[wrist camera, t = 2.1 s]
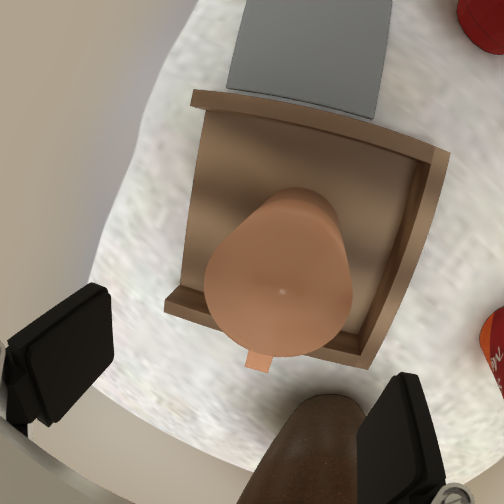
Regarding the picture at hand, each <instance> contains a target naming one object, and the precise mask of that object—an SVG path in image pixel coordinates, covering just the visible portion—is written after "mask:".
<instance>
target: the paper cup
mask: <svg viewBox="0 0 504 504" xmlns="http://www.w3.org/2000/svg"><path fill="white" fill-rule="evenodd" d="M479 340H480V346H481V348H482V351H483V353H484V355H485V357H486V360H487V362H488V364H489V366H490V368H491V370H492V373H493V375H494V377H495V380H496V382H497V384H498V387H499V389H500V391H501V394H502V396H503V399H504V307H502V308H500V309H498V310H496V311H495V312H494V313H493V314H492V315H491V316H490V317H489V318H488V319H487V321H486V322H485V324H484V326H483V328H482V330H481V333H480V339H479Z"/></svg>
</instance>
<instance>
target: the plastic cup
mask: <svg viewBox="0 0 504 504" xmlns="http://www.w3.org/2000/svg"><path fill="white" fill-rule="evenodd" d="M457 16H458V21H459V23H460V25H461V27H462V29H463V30H464V32H465V34H466V35H467V36H468V37H469V38H470V39H471V41H472V42H473V43H474V44H476V45H477V46H478V47H480V48H481V49H482V50H484V51H486V52H489V53H492V54H497V55H502V54H504V0H459V2H458V6H457Z"/></svg>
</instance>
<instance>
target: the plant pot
mask: <svg viewBox="0 0 504 504" xmlns="http://www.w3.org/2000/svg"><path fill="white" fill-rule="evenodd" d="M365 418H366V416H365V414H364V413H363V411H362V410H361V408H360V407H359V405H358V404H357V403H356V402H355V401H353V400H352V399H350V398H348V397H345V396H341V395H334V394H325V395H319V396H315V397H312V398H310V399H307V400H305V401H304V402H303V403H301V404H300V405H299V406H298V407H297V409H296V410H295V411H294V413H293V414H292V415H291V416H290V418H289V419H288V421H287V422H286V423H285V425H284V426H283V428H282V429H281V430H280V432H279V433H278V435H277V436H276V438H275V439H274V441H273V442H272V444H271V445H270V447H269V448H268V450H267V452H266V453H265V455H264V456H263V458H262V460H261V461H260V463H259V465H258V466H257V468H256V470H255V471H254V473H253V475H252V476H251V478H250V480H249V482H248V483H247V485H246V487H245V489H244V490H243V493H242V494H241V496H240V498H239V500H238V502H237V504H357V444H356V435H357V431H358V429H359V427H360V426H361V424H362V423H363V421H364V420H365Z"/></svg>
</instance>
